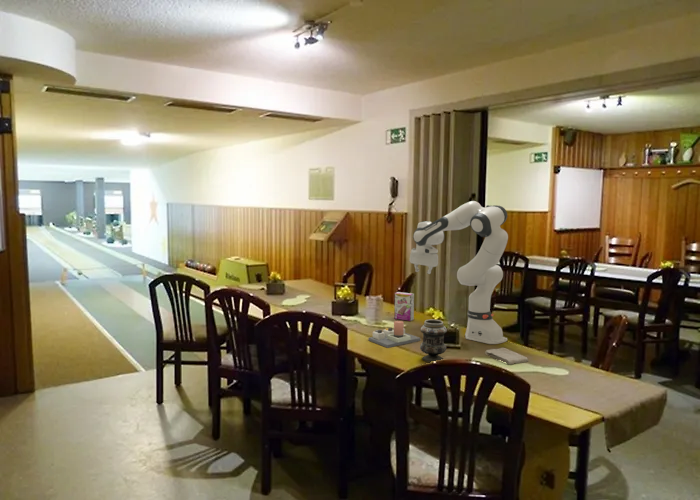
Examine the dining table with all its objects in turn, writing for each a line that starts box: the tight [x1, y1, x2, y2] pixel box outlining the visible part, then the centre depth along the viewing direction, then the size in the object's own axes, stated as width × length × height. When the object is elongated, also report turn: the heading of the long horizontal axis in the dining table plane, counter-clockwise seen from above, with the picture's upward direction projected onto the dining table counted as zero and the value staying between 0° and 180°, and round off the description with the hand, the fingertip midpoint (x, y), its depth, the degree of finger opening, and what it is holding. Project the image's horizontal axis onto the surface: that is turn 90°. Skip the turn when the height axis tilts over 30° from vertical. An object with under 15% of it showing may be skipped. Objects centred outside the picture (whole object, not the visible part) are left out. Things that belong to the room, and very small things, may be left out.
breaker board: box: [367, 327, 421, 349], centre depth 262 cm, size 16×22×6 cm
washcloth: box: [484, 347, 529, 365], centre depth 234 cm, size 12×18×3 cm, turn 24°
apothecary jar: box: [419, 318, 448, 363], centre depth 231 cm, size 12×12×18 cm
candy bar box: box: [394, 291, 415, 322], centre depth 307 cm, size 11×5×16 cm, turn 58°
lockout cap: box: [393, 320, 405, 338], centre depth 259 cm, size 5×5×9 cm
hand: (423, 272), depth 291 cm, fingers open, 8 cm apart
